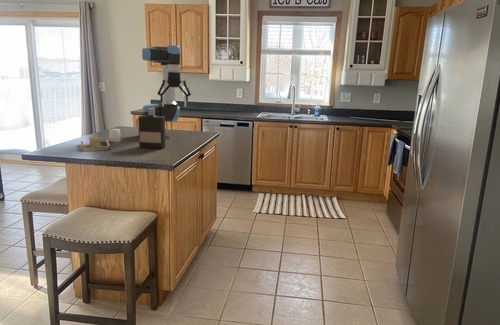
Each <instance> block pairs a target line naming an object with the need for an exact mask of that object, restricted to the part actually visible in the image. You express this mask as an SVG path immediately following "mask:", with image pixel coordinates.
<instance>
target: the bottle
mask: <svg viewBox="0 0 500 325" xmlns="http://www.w3.org/2000/svg"><path fill="white" fill-rule="evenodd" d="M137 118H138V120H137V121H138V146H139V148H140V149H158V150H159V149H160V150H162V149H165V148H166V122H165V117H164V116H156V115H155V109H154V108H148V116H145V115H143V114H142V115H139V116H138V117H137Z"/></svg>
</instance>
